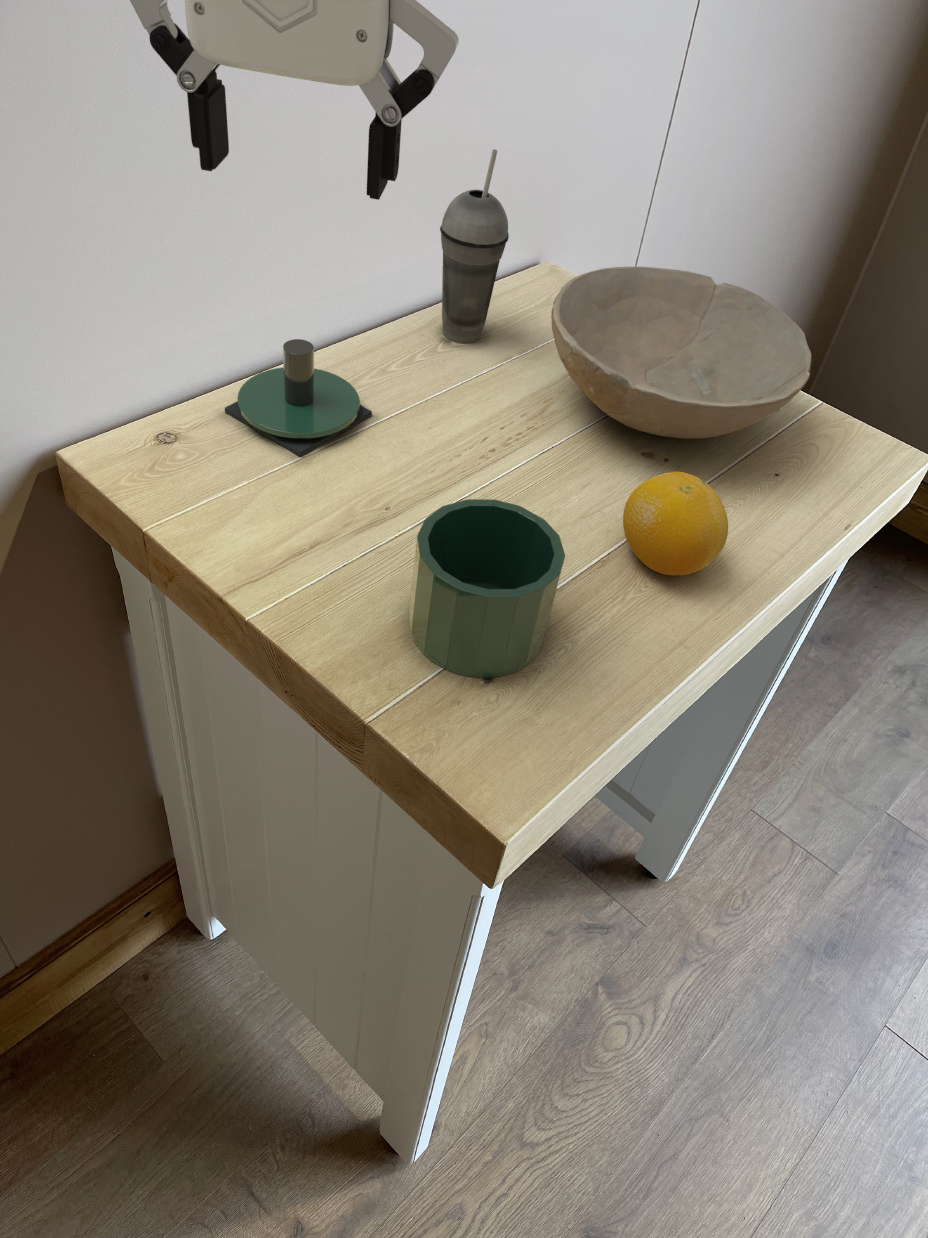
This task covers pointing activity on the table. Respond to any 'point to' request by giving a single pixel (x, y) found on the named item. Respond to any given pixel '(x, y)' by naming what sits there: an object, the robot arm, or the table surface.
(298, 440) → the mat
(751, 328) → the bowl
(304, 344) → the lid
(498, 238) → the beverage cup
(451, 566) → the pot
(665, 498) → the fruit
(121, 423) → the table surface
